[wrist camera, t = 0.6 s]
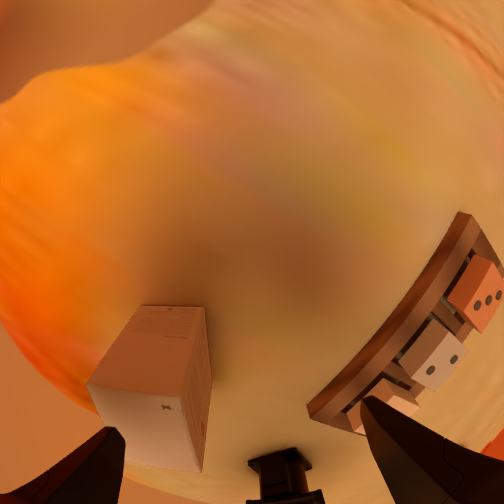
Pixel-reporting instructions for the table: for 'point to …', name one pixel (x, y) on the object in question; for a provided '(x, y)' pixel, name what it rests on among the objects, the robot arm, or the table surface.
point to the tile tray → (406, 325)
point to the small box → (158, 387)
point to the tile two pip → (433, 356)
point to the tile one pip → (390, 396)
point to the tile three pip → (478, 293)
